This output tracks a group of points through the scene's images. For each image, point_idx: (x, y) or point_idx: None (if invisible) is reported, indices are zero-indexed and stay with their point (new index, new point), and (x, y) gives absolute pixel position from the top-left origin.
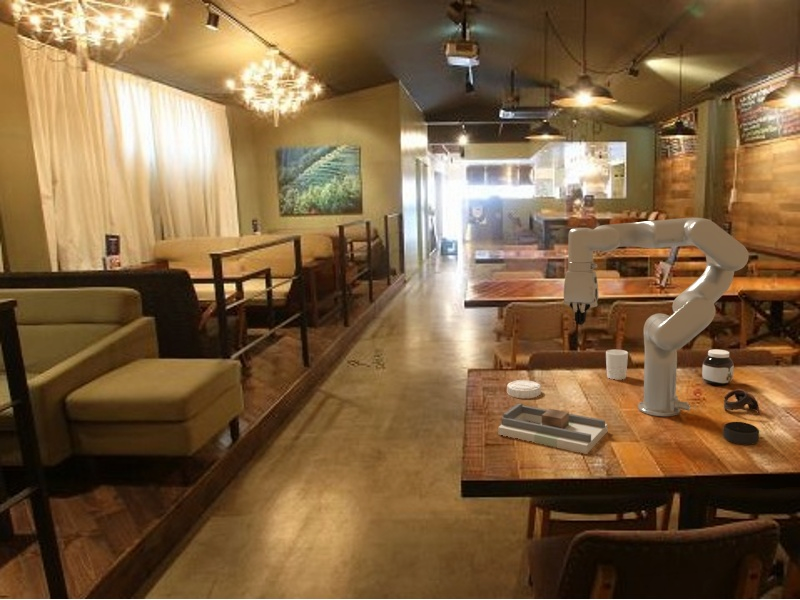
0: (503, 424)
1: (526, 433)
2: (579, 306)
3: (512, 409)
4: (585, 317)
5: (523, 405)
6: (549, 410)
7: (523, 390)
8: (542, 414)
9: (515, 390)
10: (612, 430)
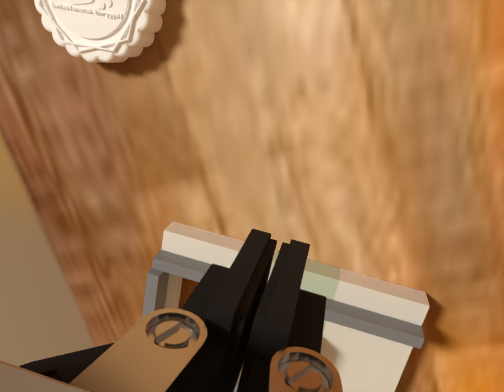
0: None
1: None
2: (179, 380)
3: None
4: (322, 322)
5: (162, 260)
6: None
7: (109, 59)
8: (239, 378)
9: (83, 56)
10: (441, 277)
